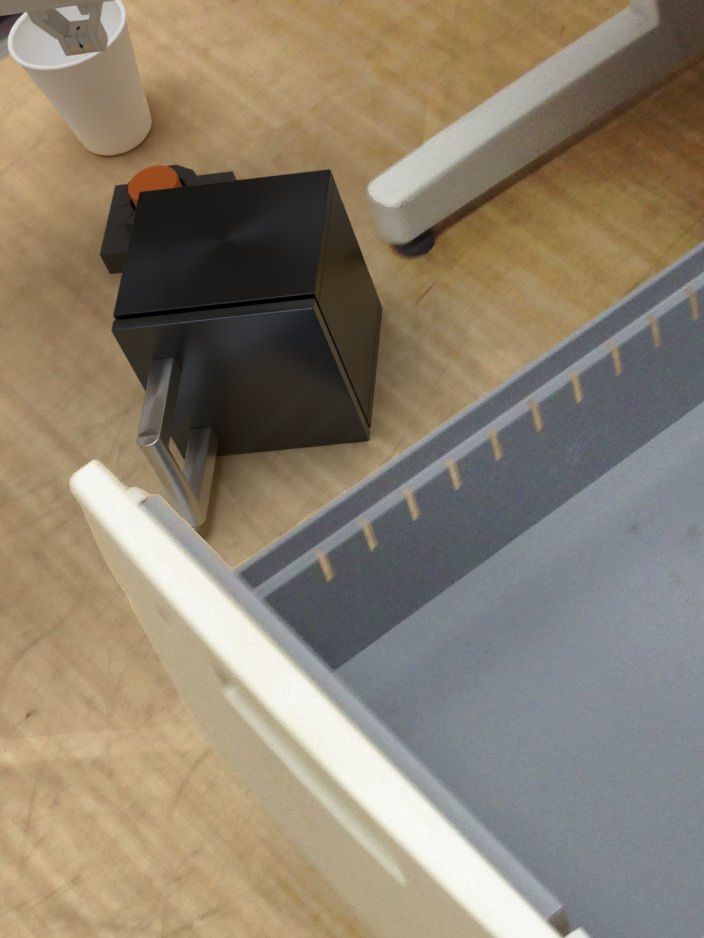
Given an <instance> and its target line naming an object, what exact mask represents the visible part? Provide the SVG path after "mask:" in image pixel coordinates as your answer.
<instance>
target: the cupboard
mask: <svg viewBox="0 0 704 938" xmlns="http://www.w3.org/2000/svg"><path fill="white" fill-rule="evenodd" d="M342 199H343V198H342V196H341V193H340V190H339V188H338V186H337V183H336V180H335V178H334V175H333V171H332V170H331V169H330V168H328V169H319V170H318V169H317V170H310V171H303V172H294V173H286V174H278V175H268V176H261V177H252V178H251V177H250V178H243V179H236V180H234V181H226V182H217V183H209V184H201V185H192V186H184V187H176V188H167V189H159V190H151V191H142V192H139V196H138V201H137V206H136V210H135V215H134V220H133V224H132V229H131V234H130V238H129V243H128V248H127V253H126V257H125V262H124V267H123V271H122V273H121V276H120V281H119V282H120V283H119V287H118V291H117V296H116V300H115V303H114V304H115V305H114V308H113V309H114V310H113V315H112V316H113V318H114V320H122V319H131V318H140V317H149V316H158V315H167V314H176V313H185V312H194V311H203V310H212V309H221V308H230V307H239V306H248V305H257V304H266V303H275V302H284V301H293V300H302V299H311V298H314V299H315V301H316V303H317V306H318V308H319V310H320V313H321V315H322V318H323V320H324V322H325V325H326V327H327V330H328V332H329V334H330V337H331V339H332V342H333V344H334V346H335V349H336V351H337V353H338V356H339V358H340V361H341V363H342V365H343V368H344V370H345V373H346V375H347V377H348V380H349V382H350V384H351V387H352V389H353V392H354V394H355V396H356V399H357V401H358V404H359V406H360V408H361V411H362V413H363V416H364V418H365V420H366V423H367V425H368V427H369V429H371V427H372V420H373V419H372V418H373V407H374V396H375V389H376V388H375V387H376V379H377V368H378V359H379V349H380V338H381V328H382V319H383V309H384V308H383V306H382V303H381V300H380V297H379V295H378V291H377V289H376V286H375V284H374V281H373V279H372V276H371V273H370V270H369V268H368V266H367V262H366V260H365V258H364V255H363V252H362V249H361V247H360V243H359V242H358V239H357V235H356V233H355V231H354V229H353V226H352V223H351V221H350V218H349V215H348V212H347V210H346V207H345V205H344V201H343V200H342Z"/></svg>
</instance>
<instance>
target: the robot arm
mask: <svg viewBox="0 0 704 938" xmlns="http://www.w3.org/2000/svg"><path fill="white" fill-rule="evenodd" d="M105 1H113V0H0V17H2V16H8V15H9V16H10V15H17V14H24V13H25V12H27V14H28V16H29V17H30V19H31V21H32V23H34V24H35V25H36V26H38V27H39V28H41V29H42V30H44V31H45V32H46V33H48V34H49V35H51V36H52V37H54V38H55V39H57V40H58V41H59V43H60V45H61V47H62V49H63V51H64V53H65V55H66V56H71V55H79V54H86V53H93V52H101V51H106V47H107V43H108V37H107V33H106V31H105V29H104V27H103V25H102V22H101V20H100V18H101V13H102V7H103V2H105ZM69 6H77V8H78V10H79V12H80V14H81V15H88V13H89V19H86V20H80V21H71V22H69V20H68V19H66V18H65V17H64V16H63V15H62V14H61V13H59V12H58V11H57V10H56V9H55V8H62V7H69Z"/></svg>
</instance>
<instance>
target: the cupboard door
mask: <svg viewBox="0 0 704 938" xmlns="http://www.w3.org/2000/svg"><path fill="white" fill-rule="evenodd" d="M110 331H111V333H112V335H113V337H114V338H115V340H116V342H117V344H118V345H119V346H118V347H120V349H121V351H122V353H123V354H124V357H125V358H126V360H127V361H128V363H129V365H130V367H131V368H132V370H133V373H134V374H135V376H136V378H137V380H138V381H139V384H141V387H142V388H143V390H144V392H145V394H144V399H143V404H142V410H141V415H140V420H139V425H138V431H137V435H136V443H137V445H138V447H139V449H140V450H141V453H142V454H143V456H144V457H145V458H146V461H147V463H148V464H149V466H150V467H151V469H152V470H153V472H154V474H155V475H156V477H157V480H158V481H159V482H160V484H161V486H162V487H163V489H164V491H165V492H166V495H167V496H168V498H169V500H170V501H171V503H172V504H173V505H174V508H175V510H176V511H177V513H178V514H179V516H180V518H181V517H183V518H184V519H185V520H186V521H187V522H188V523H189V524H190V525H191V526H192V527H193V528H194V529H195V528H198V527H200V526H202V525H203V524H204V523H205V521H206V520H207V517H208V516H207V514H208V509H209V502H210V496H211V490H212V484H213V477H214V472H215V466H216V459H217V457H219V456H228V455H238V454H248V453H257V452H259V453H260V452H267V451H269V452H270V451H278V450H287V449H298V448H307V447H316V446H317V447H318V446H326V445H328V446H329V445H338V444H347V443H357V442H366V441H369V440H370V432H371V431H370V430H371V429H370V428H369V427H368V425H367V423H366V420H365V418H364V416H363V413H362V411H361V408H360V406H359V404H358V401H357V399H356V396H355V394H354V392H353V389H352V387H351V384H350V382H349V380H348V377H347V375H346V373H345V370H344V368H343V365H342V363H341V361H340V358H339V356H338V353H337V351H336V349H335V346H334V344H333V342H332V339H331V337H330V334H329V332H328V330H327V327H326V325H325V322H324V320H323V318H322V315H321V313H320V310H319V308H318V306H317V303H316V301H315V299H314V298H311V299H302V300H293V301H284V302H275V303H266V304H257V305H248V306H239V307H230V308H221V309H212V310H203V311H194V312H185V313H176V314H167V315H158V316H149V317H140V318H131V319H122V320H115V319H114V320H113V321H112V325H111V330H110ZM171 440H172V442H173V443H174V445H175V446H176V449H177V450H178V453H179V454H180V456H181V457H182V459H183V460H184V462H183V469H181V467H180V466H179V464H178V461H177V460H176V459H175V457H174V454H173V453H172V452H171V450H170V442H171ZM192 527H191V528H192Z"/></svg>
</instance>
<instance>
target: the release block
mask: <svg viewBox="0 0 704 938" xmlns="http://www.w3.org/2000/svg"><path fill="white" fill-rule="evenodd" d="M167 166H168V167H170V168H172V169H173V170H174V171H175V172H176V174H177V176H178V178H179V180H180V182H181V184H182V187H184V186H192V185H201V184H209V183H217V182H226V181H234V180H237V178H236V175H235V173H234V171H233V170H230V171H223V172H214V173H206V174H199V175H197V173H196V172H195V170H193V169H192V168H188V167H185V166H181V165H179V164H170V165H169V164H168V165H167ZM130 181H131V179H130V180H129V181H128V182H127V183H123V184H116V185H114V189H113V193H112V198H111V203H110V208H109V212H108V215H107V222H106V225H105V230H104V234H103V238H102V243H101V247H100V252H99V256H100V258H101V260H102V263H103V264H104V266H105V267H106V269H107V271H108V273H109V274H110V275H112V274H122V271H123V267H124V262H125V257H126V253H127V248H128V243H129V238H130V234H131V229H132V224H133V220H134V215H135V210H136V206H135V204H134V202H133V200H132V198H131V196H130V194H129V192H128V185H129V182H130Z"/></svg>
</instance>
